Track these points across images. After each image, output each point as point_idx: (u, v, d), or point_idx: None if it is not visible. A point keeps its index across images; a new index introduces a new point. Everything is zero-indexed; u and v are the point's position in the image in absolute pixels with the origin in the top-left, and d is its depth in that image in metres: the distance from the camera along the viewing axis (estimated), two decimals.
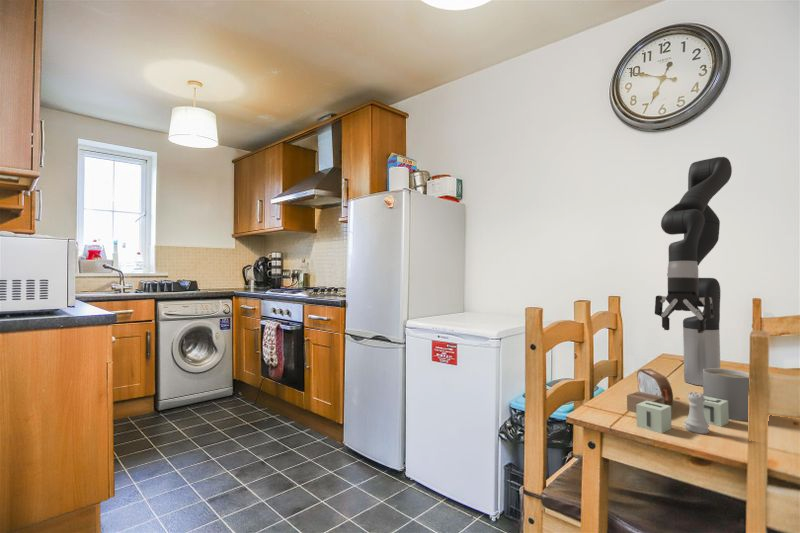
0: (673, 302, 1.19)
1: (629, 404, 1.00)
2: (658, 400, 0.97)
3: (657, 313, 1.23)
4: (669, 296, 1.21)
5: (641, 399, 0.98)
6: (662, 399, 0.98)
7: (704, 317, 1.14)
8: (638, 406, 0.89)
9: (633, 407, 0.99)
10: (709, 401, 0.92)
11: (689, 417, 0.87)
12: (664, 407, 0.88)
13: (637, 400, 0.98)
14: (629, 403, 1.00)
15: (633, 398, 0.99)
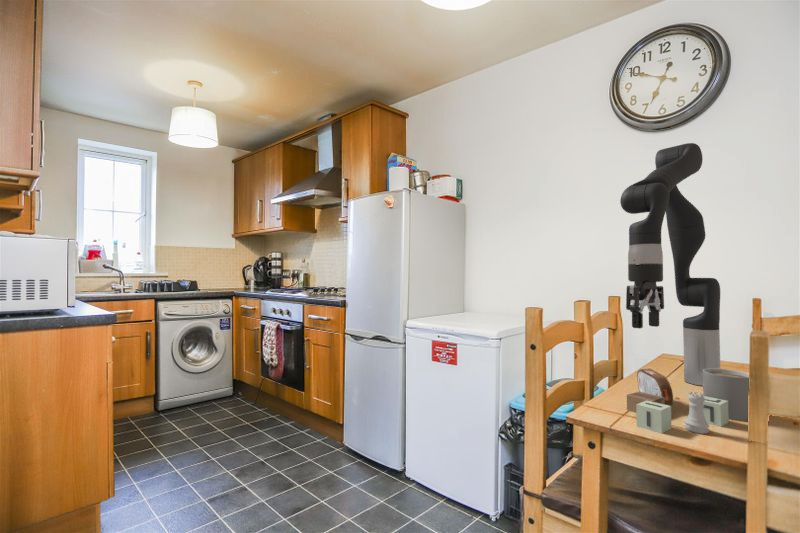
0: (650, 293, 0.98)
1: (629, 404, 1.00)
2: (658, 400, 0.97)
3: (638, 308, 0.96)
4: (644, 286, 0.98)
5: (641, 399, 0.98)
6: (662, 399, 0.98)
7: None
8: (638, 406, 0.89)
9: (633, 407, 0.99)
10: (709, 401, 0.92)
11: (689, 417, 0.87)
12: (664, 407, 0.88)
13: (637, 400, 0.98)
14: (628, 403, 1.00)
15: (633, 398, 0.99)
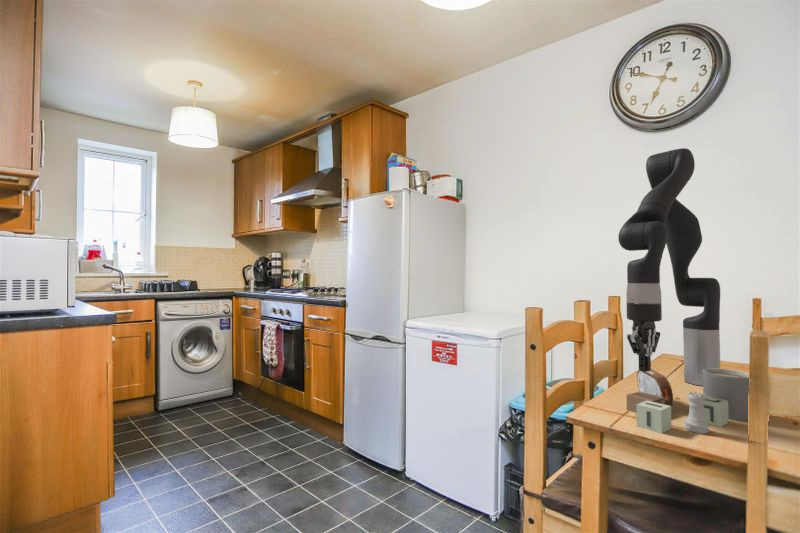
0: (649, 334, 0.98)
1: (628, 404, 1.00)
2: (657, 400, 0.97)
3: None
4: (642, 327, 0.97)
5: (640, 399, 0.98)
6: (662, 399, 0.98)
7: None
8: (638, 406, 0.89)
9: (632, 407, 0.99)
10: (709, 401, 0.92)
11: (689, 417, 0.87)
12: (664, 407, 0.88)
13: (636, 400, 0.99)
14: (628, 403, 1.00)
15: (632, 398, 0.99)
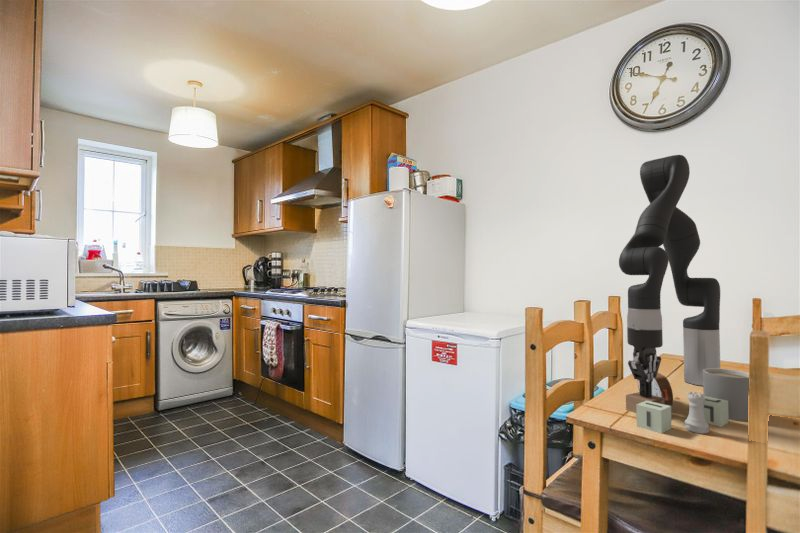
0: (650, 360, 0.98)
1: (628, 404, 1.00)
2: (657, 400, 0.97)
3: (646, 378, 0.97)
4: (643, 353, 0.97)
5: (639, 399, 0.98)
6: (662, 400, 0.98)
7: None
8: (638, 406, 0.89)
9: (631, 407, 0.99)
10: (709, 401, 0.92)
11: (689, 417, 0.87)
12: (664, 407, 0.88)
13: (635, 400, 0.99)
14: (627, 403, 1.00)
15: (631, 398, 0.99)
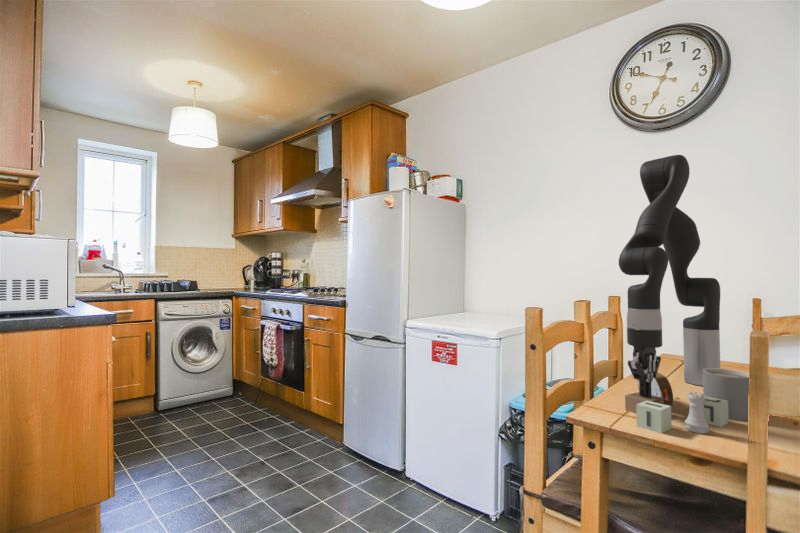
0: (650, 360, 0.98)
1: (627, 404, 1.00)
2: (656, 401, 0.97)
3: (645, 378, 0.98)
4: (642, 353, 0.97)
5: (639, 399, 0.98)
6: (661, 400, 0.98)
7: None
8: (638, 406, 0.89)
9: (631, 408, 0.99)
10: (709, 401, 0.92)
11: (689, 417, 0.87)
12: (664, 407, 0.88)
13: (635, 400, 0.98)
14: (627, 403, 1.00)
15: (631, 398, 0.99)
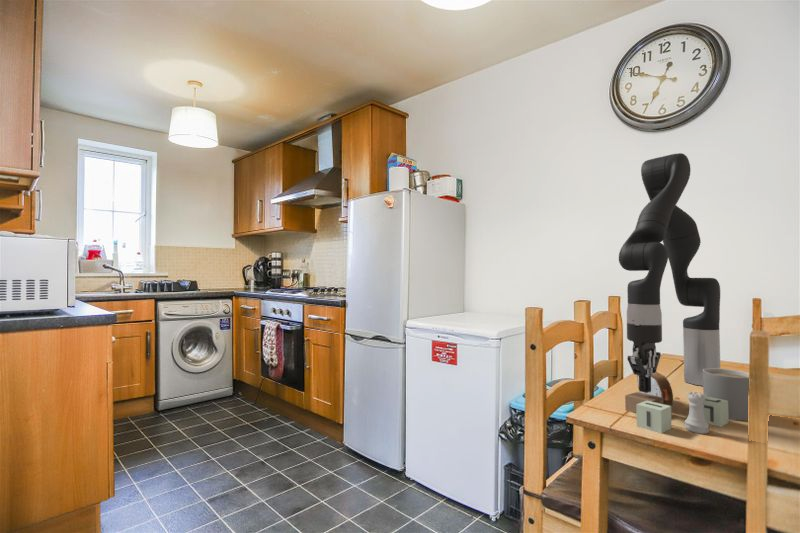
0: (650, 355, 0.98)
1: (627, 404, 1.00)
2: (656, 400, 0.97)
3: None
4: (642, 348, 0.97)
5: (639, 399, 0.98)
6: (661, 399, 0.98)
7: None
8: (638, 406, 0.89)
9: (631, 408, 0.99)
10: (709, 401, 0.92)
11: (689, 417, 0.87)
12: (664, 407, 0.88)
13: (635, 400, 0.98)
14: (627, 403, 1.00)
15: (631, 398, 0.99)
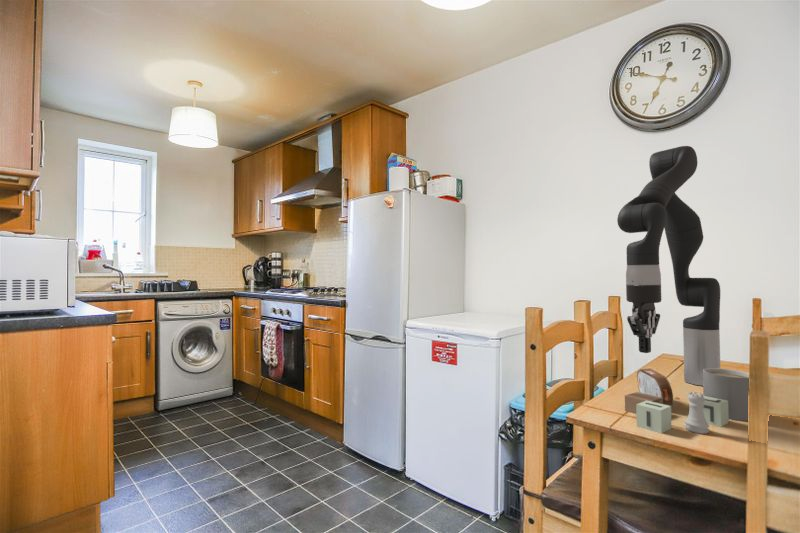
0: (649, 315, 0.98)
1: (627, 404, 1.00)
2: (656, 401, 0.97)
3: None
4: (642, 308, 0.97)
5: (639, 399, 0.97)
6: (660, 400, 0.98)
7: None
8: (638, 406, 0.89)
9: (630, 408, 0.99)
10: (709, 401, 0.92)
11: (689, 417, 0.87)
12: (664, 407, 0.88)
13: (635, 400, 0.98)
14: (626, 403, 1.00)
15: (631, 398, 0.99)
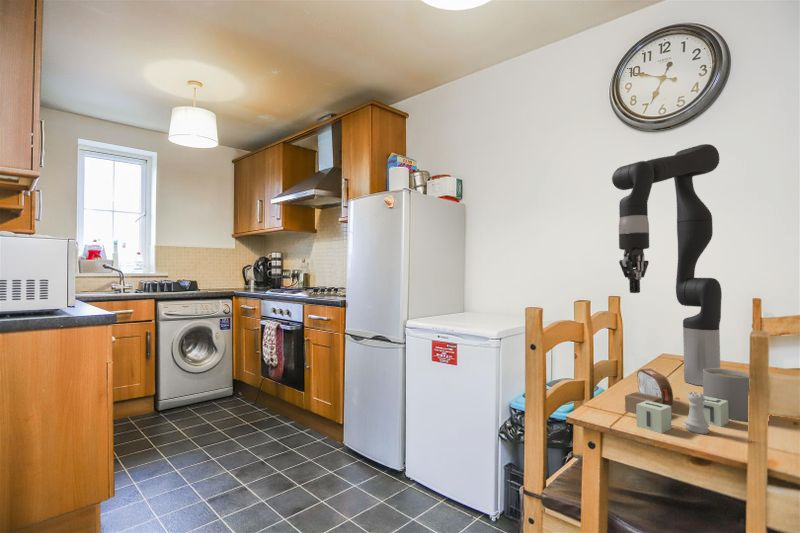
0: (639, 259, 1.12)
1: (627, 405, 1.00)
2: (656, 400, 0.97)
3: (634, 275, 1.12)
4: (632, 253, 1.12)
5: (639, 400, 0.97)
6: (660, 399, 0.98)
7: None
8: (638, 406, 0.89)
9: (631, 408, 0.99)
10: (709, 401, 0.92)
11: (689, 417, 0.87)
12: (664, 407, 0.88)
13: (635, 401, 0.98)
14: (627, 404, 1.00)
15: (631, 399, 0.99)
